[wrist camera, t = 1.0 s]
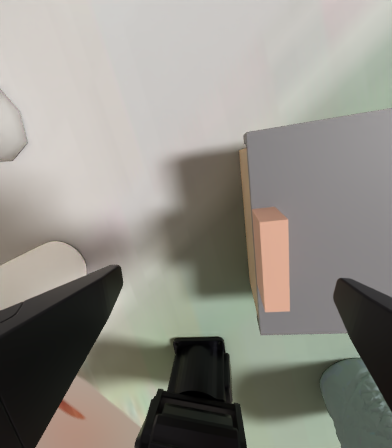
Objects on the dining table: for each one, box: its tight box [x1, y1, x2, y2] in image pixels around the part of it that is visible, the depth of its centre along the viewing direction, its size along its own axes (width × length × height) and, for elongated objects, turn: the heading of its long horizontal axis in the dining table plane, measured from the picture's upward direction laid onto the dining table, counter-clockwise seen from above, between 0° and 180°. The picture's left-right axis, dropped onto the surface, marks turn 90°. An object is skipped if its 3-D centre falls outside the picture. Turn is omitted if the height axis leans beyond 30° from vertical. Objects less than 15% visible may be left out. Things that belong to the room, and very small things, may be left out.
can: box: [0, 241, 87, 310], centre depth 20 cm, size 6×6×12 cm
